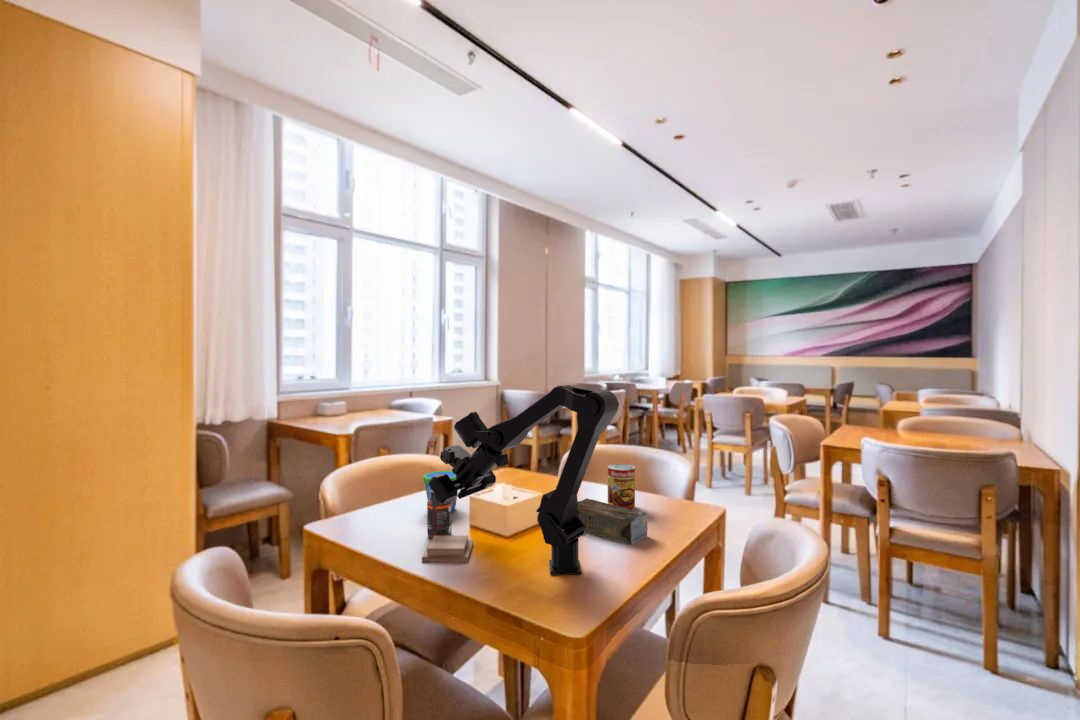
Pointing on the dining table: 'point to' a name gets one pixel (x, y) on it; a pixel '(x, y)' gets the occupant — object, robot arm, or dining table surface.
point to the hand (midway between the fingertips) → (445, 501)
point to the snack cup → (429, 475)
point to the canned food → (621, 485)
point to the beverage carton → (612, 521)
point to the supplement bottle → (438, 519)
